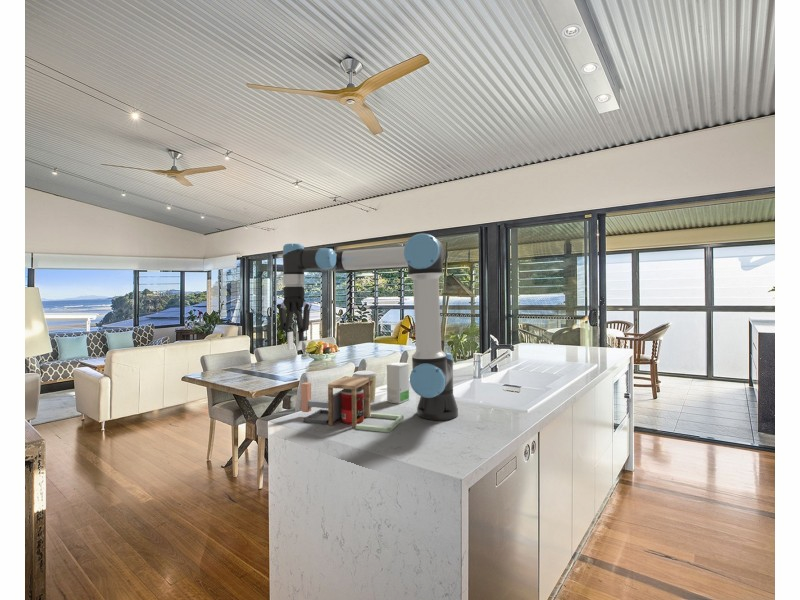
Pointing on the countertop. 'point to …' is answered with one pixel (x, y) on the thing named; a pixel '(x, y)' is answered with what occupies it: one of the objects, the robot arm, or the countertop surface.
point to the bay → (381, 428)
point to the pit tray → (318, 417)
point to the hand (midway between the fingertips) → (294, 349)
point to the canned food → (347, 405)
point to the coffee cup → (372, 381)
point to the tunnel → (352, 384)
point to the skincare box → (397, 382)
